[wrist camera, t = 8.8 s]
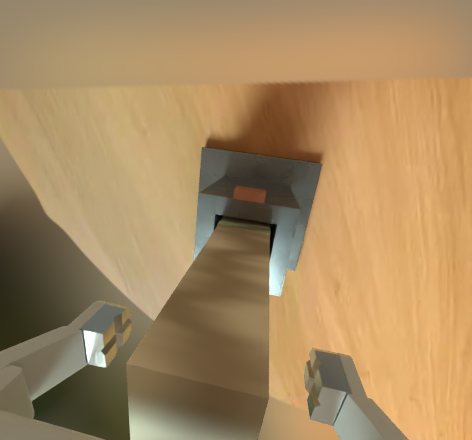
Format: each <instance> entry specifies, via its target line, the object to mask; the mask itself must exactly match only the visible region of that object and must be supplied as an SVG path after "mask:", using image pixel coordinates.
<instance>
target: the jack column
mask: <svg viewBox="0 0 472 440" xmlns="http://www.w3.org/2000/svg"><path fill="white" fill-rule="evenodd" d="M270 233H271V229H270V223H265V222H259V221H253V220H248V219H242V218H236V217H230V216H224V217H223V218H222V220H220V221H219V223H218V226H217V227H216V229H215V230H214V232H213V233H212V235H211V236H210V238H209V239H208V241H207V242H206V244H205V245H204V247H203V248H202V250H201V251H200V253H199V254H198V256H197V257H196V259H195V260H194V262H193V263H192V265H191V266H190V268H189V269H188V271H187V272H186V274H185V275H184V277H183V278H182V280H181V281H180V283H179V284H178V286H177V287H176V289H175V291H174V292H173V294H172V295H171V297H170V298H169V300H168V301H167V303H166V304H165V306H164V307H163V309H162V310H161V312H160V313H159V315H158V316H157V318H156V319H155V321H154V322H153V324H152V325H151V327H150V328H149V330H148V331H147V333H146V334H145V336H144V337H143V339H142V340H141V342H140V343H139V345H138V346H137V348H136V349H135V351H134V352H133V354H132V355H131V357H130V359H129V360H128V362H127V363H126V368H127V387H128V404H129V422H130V440H258V437H259V433H260V429H261V425H262V422H263V418H264V414H265V410H266V407H267V403H268V398H269V277H270Z"/></svg>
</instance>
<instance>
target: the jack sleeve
mask: <svg viewBox="0 0 472 440" xmlns="http://www.w3.org/2000/svg"><path fill="white" fill-rule="evenodd" d="M321 167H322V164H321V163H315V162H308V161H301V160H294V159H287V158H279V157H272V156H265V155H258V154H251V153H244V152H237V151H230V150H223V149H216V148H208V147H202V154H201V168H200V182H199V194H198V207H197V221H196V235H195V249H194V260H195V259H196V257H197V256H198V254H199V253H200V251H201V250H202V248H203V247H204V245H205V244H206V242H207V241H208V239H209V238H210V236H211V235H212V233H213V232H214V230H215V229H216V227H217V226H218V223H219V221H220V220H222V218H223V217H224V216H230V217H236V218H242V219H248V220H253V221H259V222H265V223H270V229H271V233H270V277H269V294H271V295H276V296H281V292H282V287H283V283H284V279H285V275H286V271H287V269H289V270H294V271H295V270H296V266H297V262H298V258H299V254H300V250H301V246H302V242H303V238H304V234H305V230H306V226H307V223H308V219H309V215H310V211H311V207H312V203H313V199H314V195H315V191H316V187H317V183H318V179H319V175H320V171H321Z"/></svg>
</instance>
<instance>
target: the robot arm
mask: <svg viewBox="0 0 472 440" xmlns="http://www.w3.org/2000/svg"><path fill="white" fill-rule="evenodd" d="M130 315H131V309H130V308H129V307H125V306H121V305H117V304H113V303H108V302H104V301H100V300H99V301H96V302H94V303H93V304H92V305H91V306H90V307H89V308H88V309H86V310H85V311H84V312H83V313H82V314H81V315H80V316H78V317H77V318H76V319H75V320H74V321H73V322H72V323H70V324H69V325H68V326H67V327H66V326H62V327H60V328H58V329H55V330H52V331H50V332H48V333H45V334H43V335H40V336H38V337H35V338H33V339H30V340H28V341H25V342H23V343H21V344H18V345H15V346H13V347H11V348H8V349H6V350H3V351H1V352H0V440H104V439H101V438H97V437H94V436H90V435H87V434H83V433H79V432H76V431H72V430H69V429H66V428H62V427H59V426H55V425H52V424H48V423H45V422H41V421H37V420H35V419H32V418H33V417H34V409H33V406H32V402H31V401H32V400H34V399H36V398H37V397H38V396H40V395H42V394H43V393H44V392H46V391H48V390H49V389H51V388H52V387H54V386H55V385H57V384H58V383H60V382H61V381H63V380H64V379H66V378H68V377H69V376H70V375H72V374H74V373H75V372H76V371H78V370H80V369H81V368H83V367H84V366H86V365H87V364H91V365H96V366H100V367H104V368H106V367H107V366H108V365H109V363H110V362H111V361H112V359H113V358H114V357H115V355H116V354H117V348H118V347H120V346H122V345H123V344H124V343H125V342H126V340H127V338H128V337H129V334H130V332H131V328H132V322H131V321H130V319H129V317H130ZM309 356H310V360H309V361H308V362H307V363H306V366H305V373H304V380H305V388H306V390H307V391H308V392H309V396H308V399H307V402H308V409H309V415H310V419H311V420H314V421H318V422H321V423H325V424H328V425H331V426H333V428H334V430H335V432H336V433H337V435H338V437H339V438H340V440H408V438H407V437H406V436H405V435H404V434H403V433H402V432H401V431H400V430H399V429H398V427H397V426H396V425H395V424H394V423H393V422H392V421H391V420H390V419H389V418H388V416H387V415H386V414H385V413H384V412H383V411H382V410H381V409H380V408H379V407H378V406H377V404H376V403H375V402H374V401H373V400H372V399H370V398H367V395H366V393H365V390H364V388H363V385H362V383H361V380H360V378H359V375H358V373H357V370H356V367H355V365H354V362H353V360H352V358H351V357H350V356H349V355H344V354H339V353H335V352H330V351H325V350H320V349H316V348H312V349H311V351H310V354H309Z"/></svg>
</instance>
